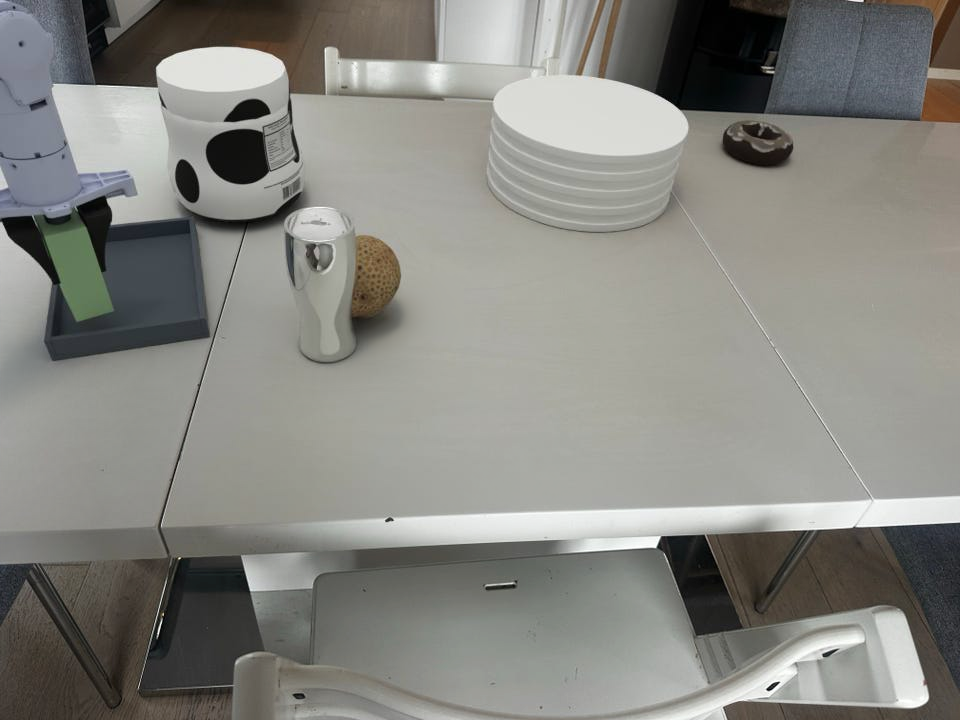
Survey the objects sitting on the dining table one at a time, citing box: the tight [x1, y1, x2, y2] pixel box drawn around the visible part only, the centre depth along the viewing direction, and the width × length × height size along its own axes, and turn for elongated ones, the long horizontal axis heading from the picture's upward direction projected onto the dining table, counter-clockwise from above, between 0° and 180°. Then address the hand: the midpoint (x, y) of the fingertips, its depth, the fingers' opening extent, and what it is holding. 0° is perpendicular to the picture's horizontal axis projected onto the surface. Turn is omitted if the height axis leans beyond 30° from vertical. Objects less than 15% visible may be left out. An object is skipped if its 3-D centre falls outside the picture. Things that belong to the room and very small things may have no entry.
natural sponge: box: [352, 234, 402, 319], centre depth 78 cm, size 9×9×10 cm
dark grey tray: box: [43, 216, 211, 361], centre depth 81 cm, size 15×21×3 cm
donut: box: [722, 119, 794, 166], centre depth 121 cm, size 12×12×4 cm
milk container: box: [155, 46, 306, 223], centre depth 92 cm, size 17×17×18 cm
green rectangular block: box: [32, 207, 114, 322], centre depth 70 cm, size 4×5×12 cm
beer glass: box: [283, 205, 358, 363], centre depth 72 cm, size 7×7×15 cm
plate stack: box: [486, 74, 690, 233], centre depth 105 cm, size 28×28×12 cm
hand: (77, 273), depth 71 cm, fingers closed on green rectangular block, 3 cm apart
